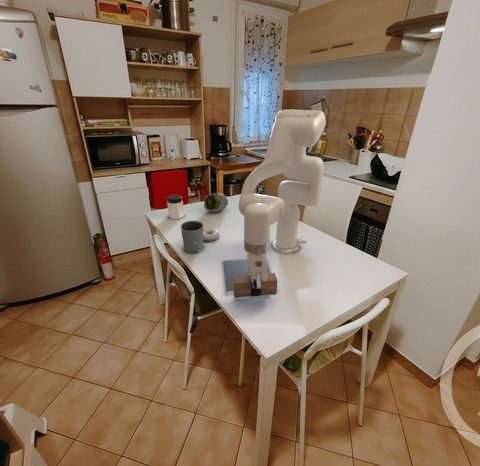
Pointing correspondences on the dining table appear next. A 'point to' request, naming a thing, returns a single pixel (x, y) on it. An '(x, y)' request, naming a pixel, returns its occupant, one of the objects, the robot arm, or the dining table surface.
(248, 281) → the eraser
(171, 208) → the jar
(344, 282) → the dining table surface
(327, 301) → the dining table surface
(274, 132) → the robot arm
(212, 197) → the potted plant
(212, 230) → the donut
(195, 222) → the gray cup
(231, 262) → the slate board
